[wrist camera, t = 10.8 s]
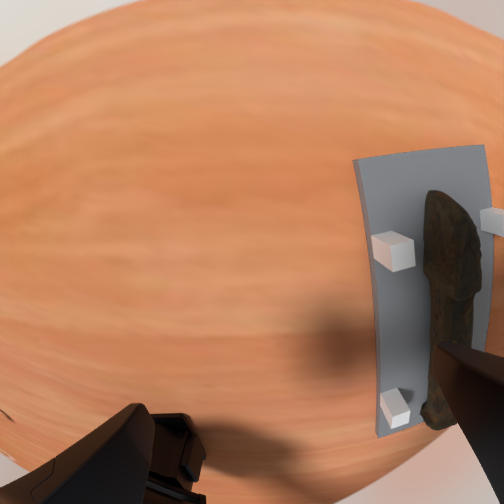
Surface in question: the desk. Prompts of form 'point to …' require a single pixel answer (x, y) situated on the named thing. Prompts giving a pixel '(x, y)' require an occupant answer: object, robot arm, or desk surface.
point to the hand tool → (448, 288)
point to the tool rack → (417, 264)
